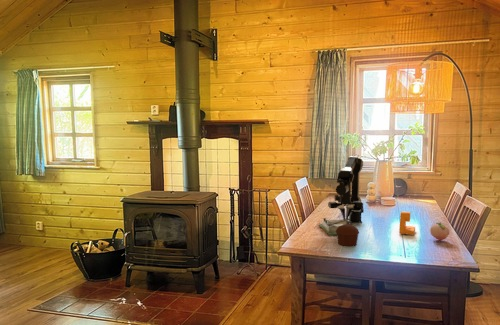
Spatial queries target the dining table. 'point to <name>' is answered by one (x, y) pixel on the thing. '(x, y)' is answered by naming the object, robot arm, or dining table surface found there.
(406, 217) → the bracket
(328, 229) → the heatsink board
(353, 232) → the muffin
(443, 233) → the decorative fruit
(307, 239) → the dining table surface
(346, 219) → the strap
